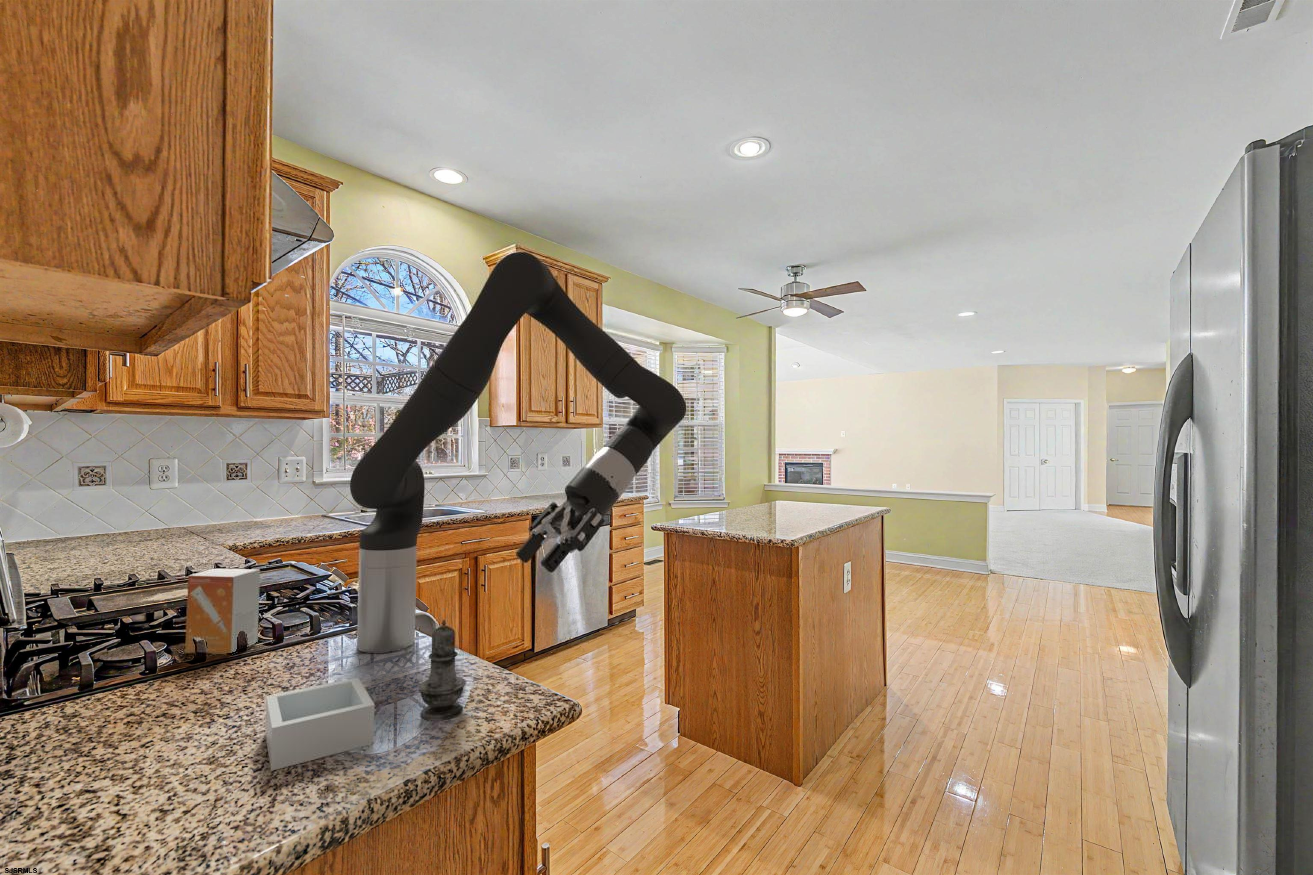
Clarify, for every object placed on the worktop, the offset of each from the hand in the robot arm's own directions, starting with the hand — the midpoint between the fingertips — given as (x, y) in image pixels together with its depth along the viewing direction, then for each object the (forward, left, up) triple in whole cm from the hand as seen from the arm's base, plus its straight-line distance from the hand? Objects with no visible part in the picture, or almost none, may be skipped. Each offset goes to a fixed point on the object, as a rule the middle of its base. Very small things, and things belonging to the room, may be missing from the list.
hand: (532, 563), depth 85 cm
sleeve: (-1, -26, -18) cm, 32 cm away
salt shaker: (0, -12, -18) cm, 22 cm away
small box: (-46, -35, -18) cm, 61 cm away
